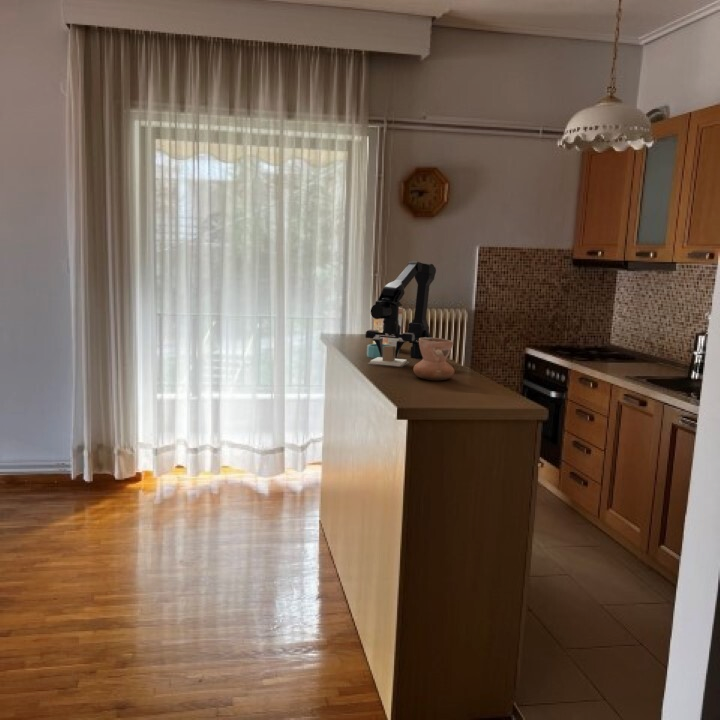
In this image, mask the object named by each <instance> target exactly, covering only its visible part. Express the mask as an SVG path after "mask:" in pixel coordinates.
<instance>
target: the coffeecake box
mask: <svg viewBox="0 0 720 720" xmlns="http://www.w3.org/2000/svg"><path fill="white" fill-rule="evenodd" d="M402 319H403V307H401V306H399V316H398V320H399V325H400V327H401V328H402V324H403V320H402ZM383 321H384V319H375V318H373V330H378V331H379V332H381V333H383V324H384V323H383ZM400 334H402V329H401V330H400ZM392 335H393V334H392ZM382 338H383V343H382V344H387V345H392V346H396V344H397V341H399V339H398V338H386V337H382ZM372 344H376V343H375V341H373V340H372ZM395 351H396V348H395Z"/></svg>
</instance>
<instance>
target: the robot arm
mask: <svg viewBox="0 0 720 720" xmlns="http://www.w3.org/2000/svg"><path fill="white" fill-rule="evenodd" d="M436 273H437V269H436V266H434V264H433V263H424V262H420V261H413V260H411V261H409V262H407V266H406V267H405V268H404V269H403V270H402V271H401V273H400V274H399V275H398V276H397V277H396V279H394V281H390V282H389V283H387V284H385V286H384V287H382V288H383V289H382V291H381V293H380V295H379V297H378V299H377V300H375V304H373V305H372V307H371V308H370V315H371V316H372V318H373V319H374V318H375V319H384V321H383V323H384V324H383V333H381V332H379V331H378V330H374V329H368V330H366V331H365V338H366V339H372V342H373V341H375V343H376V345H377V347H378V350H379V353H380V356H381V357H382V355H383V344H382V343H383V338H382V337H386V338H398V339H399V341H397V344H396V350H395V359H398V356H399V353H400V351H401V348H402V346H403V345H404V344H405V343H408V344H411V345H412V346H410V355H409V356H410V359H418V360H419V359H420V360H422V359H423V357H422V354H421V351H420V346H419V338H424V337H427V338H430V337H432V336H431V333H430V326H429V324H428V322H427V313H428V304H429V294H430V293H429V292H430V286H431V284H432V283H433V282H434V280H435V278H436V277H435V276H436ZM413 279H415V282H416V284H417V288H416V299H415V306H414V307H415V308H414V315H413V320H412V321H411V322H409V323H408V328H407V332H403V333H401V334H400V330H401V331H402V326H401V327H400V325H399V320H398V316H399V307H402V306H403V304H402V303H401V302H400V301H401V300H402V299H403V296H404V295H405V292H406V291H405V289H406V287H407V286H408V285H409V284H410V282H411V281H412V280H413ZM392 334H393V335H392Z"/></svg>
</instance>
